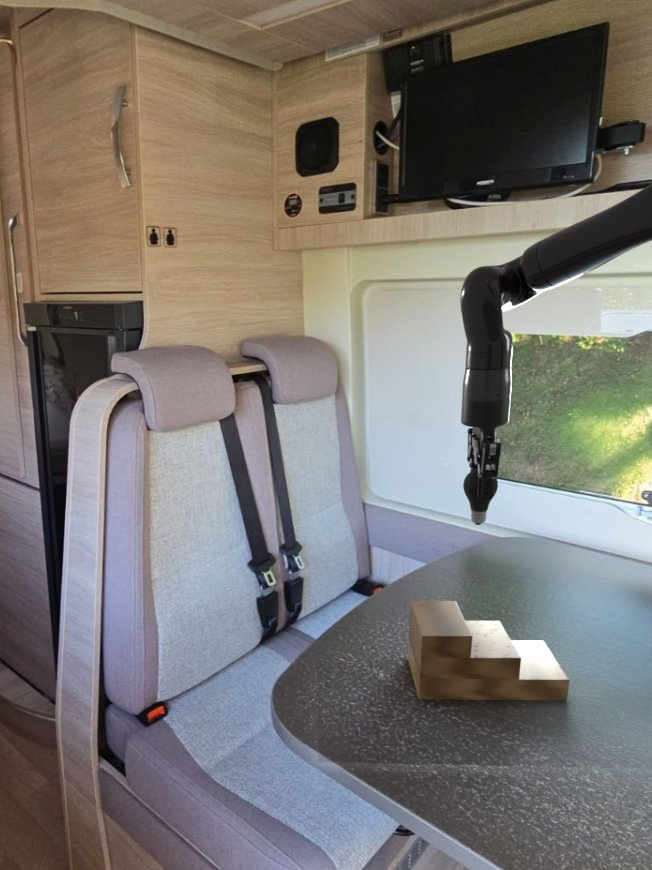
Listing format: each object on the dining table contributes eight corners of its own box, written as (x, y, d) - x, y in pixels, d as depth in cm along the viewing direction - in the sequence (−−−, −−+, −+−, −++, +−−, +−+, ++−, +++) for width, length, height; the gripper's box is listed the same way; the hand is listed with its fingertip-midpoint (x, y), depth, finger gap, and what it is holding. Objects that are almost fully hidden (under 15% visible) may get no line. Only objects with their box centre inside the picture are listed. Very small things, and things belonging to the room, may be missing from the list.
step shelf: (541, 659, 115) (548, 600, 112) (566, 701, 104) (575, 636, 100) (407, 659, 118) (410, 600, 114) (418, 699, 106) (422, 636, 103)
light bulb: (476, 531, 122) (479, 474, 119) (454, 523, 127) (457, 467, 124) (502, 525, 124) (506, 469, 121) (479, 517, 129) (482, 463, 126)
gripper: (522, 401, 111) (513, 506, 117) (499, 388, 124) (492, 482, 130) (471, 403, 112) (465, 507, 118) (454, 390, 125) (450, 484, 131)
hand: (480, 493), depth 124 cm, fingers closed on light bulb, 5 cm apart
